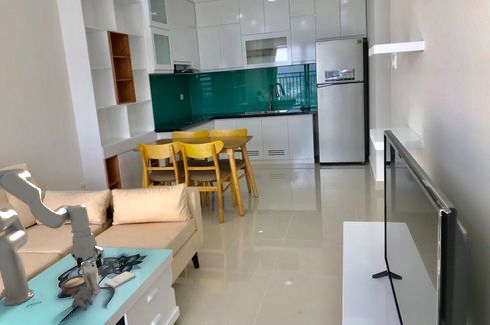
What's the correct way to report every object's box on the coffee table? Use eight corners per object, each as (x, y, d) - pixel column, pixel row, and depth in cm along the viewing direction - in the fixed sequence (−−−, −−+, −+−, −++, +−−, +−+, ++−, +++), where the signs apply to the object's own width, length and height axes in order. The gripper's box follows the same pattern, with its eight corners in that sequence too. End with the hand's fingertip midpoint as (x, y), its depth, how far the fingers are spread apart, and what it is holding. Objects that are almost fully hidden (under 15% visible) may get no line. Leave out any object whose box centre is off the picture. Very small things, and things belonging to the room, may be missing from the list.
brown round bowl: (56, 295, 189) (54, 287, 188) (73, 280, 201) (72, 274, 200) (79, 296, 186) (78, 288, 185) (96, 281, 198) (95, 274, 197)
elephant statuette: (69, 313, 173) (65, 297, 171) (80, 296, 185) (77, 281, 182) (90, 311, 173) (87, 295, 171) (100, 294, 184) (97, 280, 182)
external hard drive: (136, 277, 199) (114, 289, 190) (126, 273, 204) (104, 285, 195) (135, 274, 199) (114, 286, 189) (125, 271, 204) (104, 282, 194)
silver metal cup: (96, 296, 184) (90, 266, 180) (82, 296, 185) (76, 266, 182) (104, 288, 190) (99, 259, 187) (91, 288, 192) (85, 259, 188)
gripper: (60, 236, 180) (68, 270, 183) (94, 235, 175) (102, 270, 179) (71, 229, 187) (79, 263, 191) (103, 228, 183) (111, 262, 186)
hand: (90, 266), depth 185 cm, fingers open, 9 cm apart
